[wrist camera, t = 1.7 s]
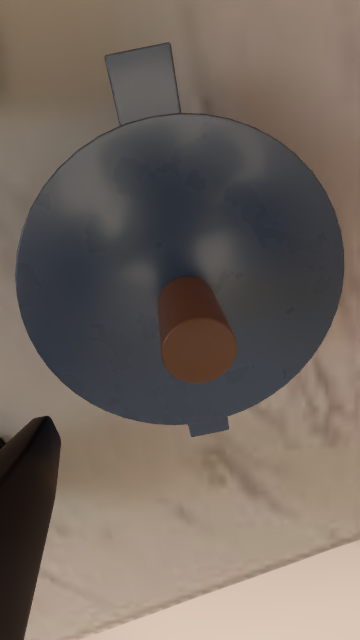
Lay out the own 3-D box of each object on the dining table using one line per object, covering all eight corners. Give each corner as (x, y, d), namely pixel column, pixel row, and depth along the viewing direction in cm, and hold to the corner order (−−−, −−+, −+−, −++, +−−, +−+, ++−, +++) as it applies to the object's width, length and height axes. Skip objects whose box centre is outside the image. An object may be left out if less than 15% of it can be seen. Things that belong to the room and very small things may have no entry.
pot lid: (82, 433, 19) (61, 524, 14) (-38, 158, 12) (-152, 157, 8) (328, 383, 19) (388, 457, 14) (338, 81, 12) (456, 33, 8)
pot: (110, 400, 25) (100, 465, 19) (5, 107, 16) (-64, 82, 11) (286, 364, 25) (324, 420, 19) (274, 52, 16) (336, 0, 11)
